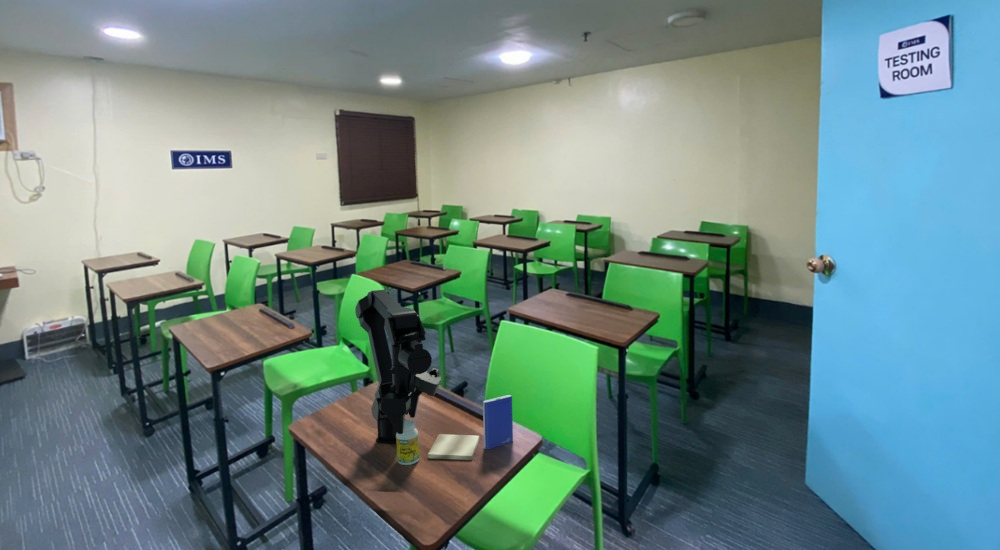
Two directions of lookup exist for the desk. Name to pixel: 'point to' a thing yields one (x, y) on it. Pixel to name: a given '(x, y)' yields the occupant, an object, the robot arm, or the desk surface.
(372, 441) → the desk surface
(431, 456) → the birch board
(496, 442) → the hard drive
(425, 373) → the robot arm
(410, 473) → the desk surface
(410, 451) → the supplement bottle
